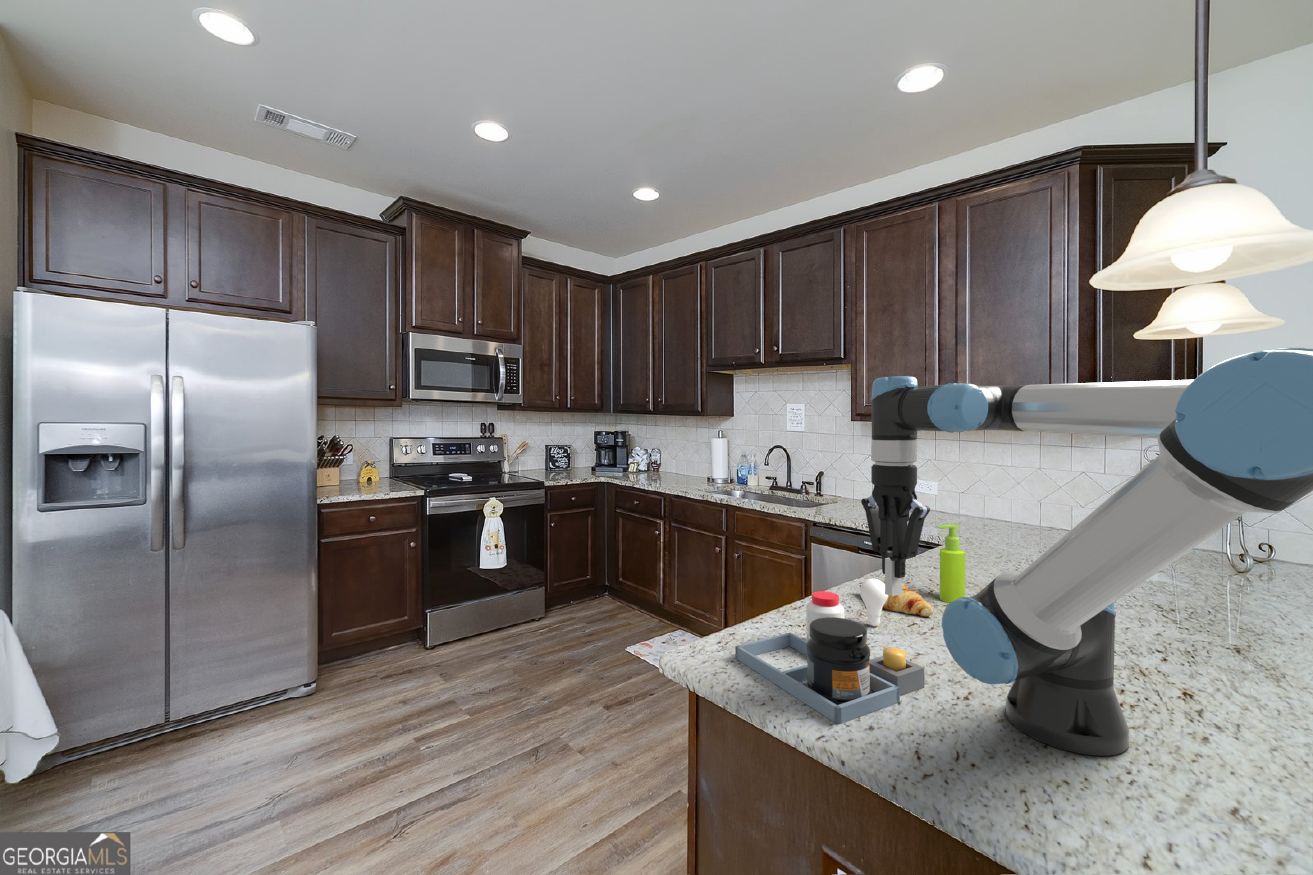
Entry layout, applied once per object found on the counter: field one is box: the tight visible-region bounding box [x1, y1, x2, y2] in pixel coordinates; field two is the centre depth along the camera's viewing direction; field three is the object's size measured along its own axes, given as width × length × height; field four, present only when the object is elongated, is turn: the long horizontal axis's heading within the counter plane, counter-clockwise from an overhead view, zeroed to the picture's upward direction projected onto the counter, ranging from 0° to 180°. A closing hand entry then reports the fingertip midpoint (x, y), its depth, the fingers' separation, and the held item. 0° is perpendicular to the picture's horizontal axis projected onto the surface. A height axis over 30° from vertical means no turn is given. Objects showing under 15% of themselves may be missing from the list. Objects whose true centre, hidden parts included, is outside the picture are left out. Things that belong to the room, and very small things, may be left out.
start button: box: [882, 646, 907, 672], centre depth 98 cm, size 4×4×3 cm
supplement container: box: [806, 617, 871, 705], centre depth 95 cm, size 10×10×12 cm
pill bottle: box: [805, 590, 846, 641], centre depth 115 cm, size 8×8×11 cm
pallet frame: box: [734, 632, 901, 725], centre depth 101 cm, size 27×14×2 cm, turn 27°
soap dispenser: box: [935, 523, 966, 604], centre depth 143 cm, size 6×7×20 cm
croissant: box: [859, 580, 934, 617], centre depth 139 cm, size 21×10×8 cm, turn 30°
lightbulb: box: [859, 578, 888, 627], centre depth 126 cm, size 6×6×11 cm
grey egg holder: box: [870, 655, 925, 697], centre depth 98 cm, size 7×7×4 cm
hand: (893, 593), depth 98 cm, fingers closed
